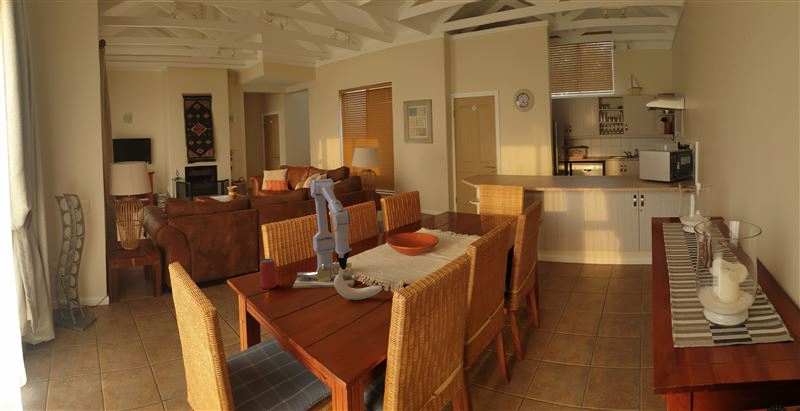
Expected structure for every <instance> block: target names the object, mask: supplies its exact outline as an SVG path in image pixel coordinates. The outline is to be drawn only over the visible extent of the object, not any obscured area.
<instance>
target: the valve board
mask: <svg viewBox="0 0 800 411" xmlns="http://www.w3.org/2000/svg"><path fill="white" fill-rule="evenodd" d="M334 279H335V278H333V280H331V281H321V282H318V280H317V279H310V280H309V281H304V279H297V278H295V281H294V283H293V285H292V289H316V288H318V289H321V288H322V289H323V288H324V289H325V288H335V286H334ZM355 280H356V273H352V278H348V279H347V280H344V282H345V283H346V285H347V286H349V287H351V288H354V285H355Z"/></svg>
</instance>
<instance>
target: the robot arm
mask: <svg viewBox="0 0 800 411" xmlns="http://www.w3.org/2000/svg"><path fill="white" fill-rule="evenodd" d="M309 187H310V188H309V189H310V195H311V198H314V202H315V212H316V220H317V221H316V222H317V230H318V231H317V232H316V234H314V235H313V237H312V248H313V251H314V252H315V253H316V255H317V257H316V258H317V260H316V261H317V269H316V271H315V272H317V271H318V268H319V267H322V264H324V263H326V264H334V263H333V252H334V250H335V257H336V259H337V260H338V264H339V265H340V267H341V268H342V269H343V270H344V271H345V270H346V269H347V268H346V264H347V263H348V258H349V256H350V252H351V251H352V250H353V248H351V247H350V240H349V239H350V238H349V236H350V235H349V234H350V233H349V224H350V223H351V216H350V212H349V211H348V210H346V209H345V208H344V206H343V205H342V202H341V200H339V199H337V197H336V195H335V193H334V189H335V182H334V180H333V179H332V178H326V179H324V178H323V179H312V180H311V181H310V185H309ZM326 201H327V202H328V204H327V202H326ZM327 207H328V209H329V212H330V214H331V215H332V218H331V219H332V224H333V229H334V232H335V235H334V234H333V233H332V232H330V231H329V224H328V223H329V221H328V214H327ZM340 267H339V268H340ZM334 268H335V267H332V271H333V272H334Z"/></svg>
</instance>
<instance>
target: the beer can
mask: <svg viewBox="0 0 800 411" xmlns="http://www.w3.org/2000/svg"><path fill="white" fill-rule="evenodd" d="M276 269H277V268H276V263H275V260H274V258H262V259H261V260H260V263H259V273H260V274H259V275H260V278H259V279H260V285H261V286H260V287H261V288H262V289H264V290H265V289H267V290H270V289H273V288H275V287H276V286H277V284H278V283H277V270H276Z"/></svg>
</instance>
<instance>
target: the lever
mask: <svg viewBox="0 0 800 411" xmlns="http://www.w3.org/2000/svg"><path fill="white" fill-rule="evenodd" d="M352 266H353V265H352V262H347V264H346V269H347V268H352ZM326 267H334V268H340V265H339V263H333V264H326V263H324V264H322V268H326Z"/></svg>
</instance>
